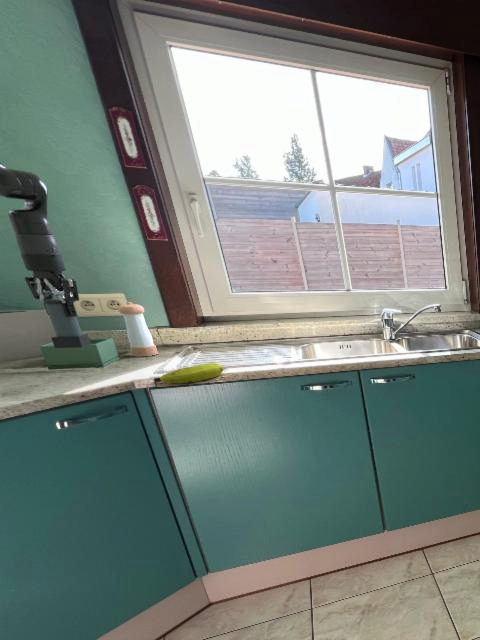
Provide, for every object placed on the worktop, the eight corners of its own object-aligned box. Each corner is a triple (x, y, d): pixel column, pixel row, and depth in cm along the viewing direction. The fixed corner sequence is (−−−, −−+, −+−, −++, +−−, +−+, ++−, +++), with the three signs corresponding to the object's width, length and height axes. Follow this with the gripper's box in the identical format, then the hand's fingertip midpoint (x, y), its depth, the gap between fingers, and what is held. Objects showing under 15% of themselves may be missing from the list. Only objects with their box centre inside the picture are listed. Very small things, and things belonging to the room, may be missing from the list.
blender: (54, 348, 139) (37, 300, 134) (64, 344, 143) (48, 298, 139) (82, 347, 141) (66, 300, 136) (91, 344, 146) (75, 298, 141)
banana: (229, 358, 162) (181, 366, 160) (196, 366, 146) (142, 374, 144) (234, 372, 163) (186, 379, 162) (202, 381, 147) (149, 389, 146)
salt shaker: (139, 353, 185) (123, 300, 178) (162, 353, 187) (147, 301, 180) (127, 357, 179) (110, 302, 172) (151, 356, 180) (135, 303, 173)
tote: (48, 369, 158) (39, 346, 155) (68, 361, 169) (60, 339, 166) (103, 367, 163) (96, 344, 161) (119, 359, 175) (112, 338, 172)
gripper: (1, 251, 131) (25, 316, 137) (45, 253, 129) (68, 319, 135) (35, 251, 137) (57, 313, 144) (78, 253, 135) (98, 316, 142)
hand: (62, 315), depth 139 cm, fingers closed on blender, 5 cm apart
